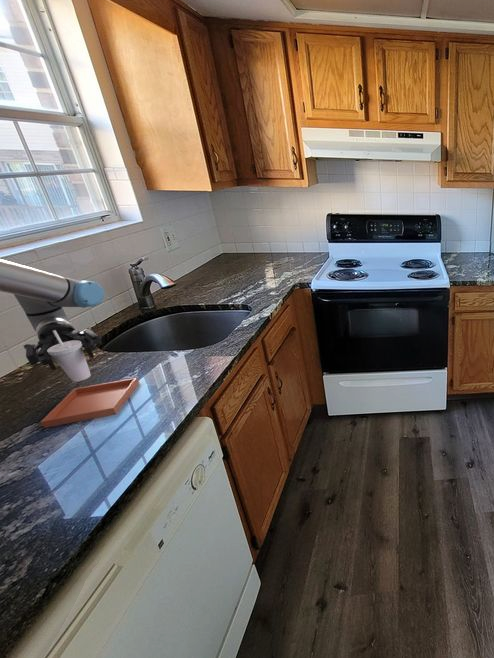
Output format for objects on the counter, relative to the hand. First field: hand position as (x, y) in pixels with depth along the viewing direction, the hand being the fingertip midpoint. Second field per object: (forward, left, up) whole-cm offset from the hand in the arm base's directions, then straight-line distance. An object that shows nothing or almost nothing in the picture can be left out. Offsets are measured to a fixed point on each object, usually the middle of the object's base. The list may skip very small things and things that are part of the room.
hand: (71, 358), depth 90 cm
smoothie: (-3, +4, -8) cm, 9 cm away
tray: (-3, +5, -16) cm, 17 cm away
